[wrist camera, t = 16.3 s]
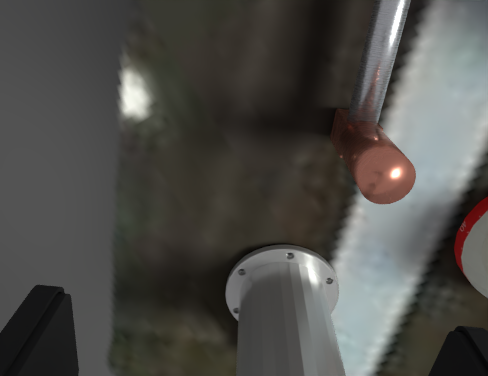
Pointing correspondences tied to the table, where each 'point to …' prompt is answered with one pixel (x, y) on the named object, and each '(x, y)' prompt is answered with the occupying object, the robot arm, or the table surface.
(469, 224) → the kitchen timer
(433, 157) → the table surface
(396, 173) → the copper head hammer
